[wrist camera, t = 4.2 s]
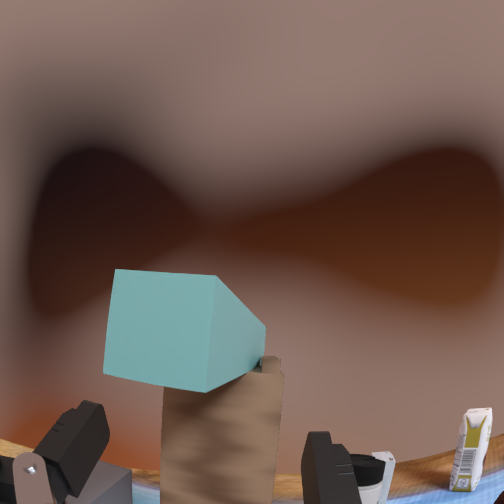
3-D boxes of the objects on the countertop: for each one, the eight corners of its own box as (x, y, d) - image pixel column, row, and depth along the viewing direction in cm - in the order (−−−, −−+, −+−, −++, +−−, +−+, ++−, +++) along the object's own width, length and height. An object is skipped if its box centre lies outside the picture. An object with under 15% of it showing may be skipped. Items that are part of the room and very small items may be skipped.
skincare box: (360, 499, 49) (369, 451, 52) (380, 498, 48) (389, 450, 51) (364, 511, 43) (373, 460, 47) (385, 510, 42) (396, 459, 46)
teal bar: (103, 373, 10) (115, 269, 11) (225, 360, 33) (229, 324, 34) (205, 392, 10) (216, 275, 11) (263, 364, 32) (265, 327, 34)
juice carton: (445, 492, 43) (460, 415, 49) (453, 479, 49) (465, 408, 54) (475, 493, 38) (492, 414, 44) (480, 479, 44) (494, 406, 49)
